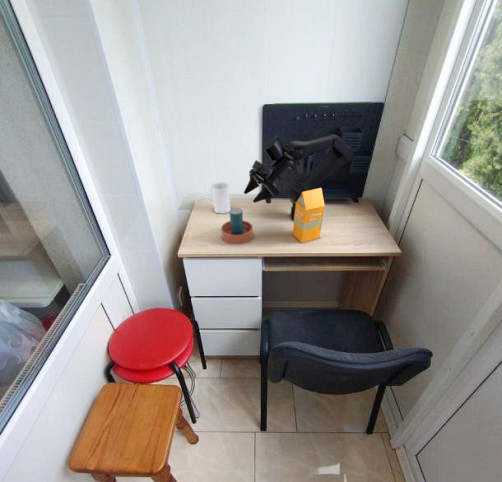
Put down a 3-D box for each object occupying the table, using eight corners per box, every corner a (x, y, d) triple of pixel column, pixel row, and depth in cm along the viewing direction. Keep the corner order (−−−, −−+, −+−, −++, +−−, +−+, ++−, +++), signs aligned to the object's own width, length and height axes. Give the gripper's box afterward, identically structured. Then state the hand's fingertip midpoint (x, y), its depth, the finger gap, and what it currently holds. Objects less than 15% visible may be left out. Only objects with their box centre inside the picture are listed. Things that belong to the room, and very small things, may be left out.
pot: (252, 228, 127) (252, 219, 124) (252, 244, 117) (252, 235, 114) (223, 229, 127) (222, 220, 124) (221, 245, 118) (220, 235, 114)
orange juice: (292, 234, 123) (296, 188, 109) (309, 229, 126) (316, 184, 112) (301, 242, 118) (307, 195, 104) (319, 237, 120) (327, 191, 106)
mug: (205, 213, 139) (202, 188, 130) (209, 205, 145) (206, 181, 136) (229, 213, 138) (227, 189, 129) (231, 205, 144) (230, 182, 135)
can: (243, 232, 124) (242, 207, 116) (243, 238, 120) (242, 213, 112) (231, 232, 124) (229, 207, 116) (231, 238, 120) (229, 213, 112)
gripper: (256, 147, 114) (228, 175, 117) (278, 160, 102) (247, 192, 104) (270, 167, 122) (244, 194, 125) (292, 182, 110) (262, 211, 113)
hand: (248, 197), depth 116 cm, fingers open, 9 cm apart
